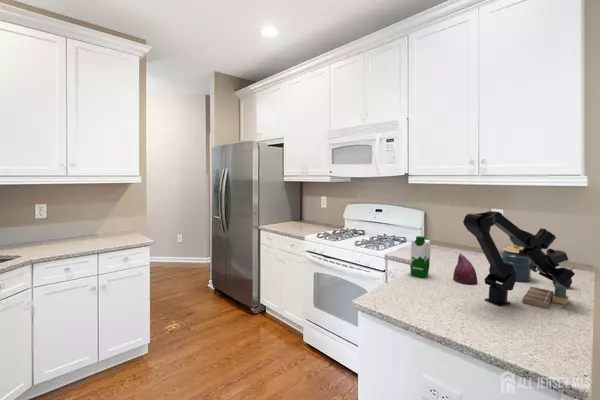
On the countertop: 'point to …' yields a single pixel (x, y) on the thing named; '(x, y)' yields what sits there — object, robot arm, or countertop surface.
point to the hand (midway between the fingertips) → (564, 285)
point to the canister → (517, 262)
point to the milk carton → (420, 257)
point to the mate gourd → (568, 280)
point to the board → (538, 297)
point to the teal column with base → (560, 294)
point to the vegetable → (464, 271)
